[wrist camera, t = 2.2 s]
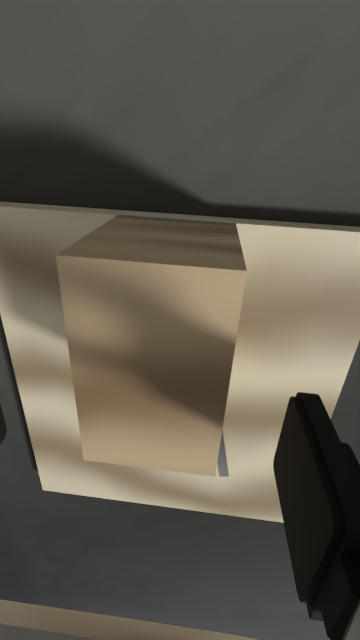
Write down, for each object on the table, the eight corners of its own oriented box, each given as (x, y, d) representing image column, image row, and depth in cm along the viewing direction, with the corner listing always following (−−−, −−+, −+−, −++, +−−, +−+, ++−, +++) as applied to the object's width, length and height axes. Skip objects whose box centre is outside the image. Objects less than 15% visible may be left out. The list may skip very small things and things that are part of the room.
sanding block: (118, 214, 14) (55, 255, 8) (235, 223, 13) (247, 270, 8) (124, 366, 18) (83, 460, 12) (216, 376, 17) (215, 476, 12)
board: (-10, 200, 15) (-27, 204, 14) (384, 228, 14) (398, 235, 13) (50, 475, 25) (42, 490, 24) (288, 506, 23) (292, 524, 22)
